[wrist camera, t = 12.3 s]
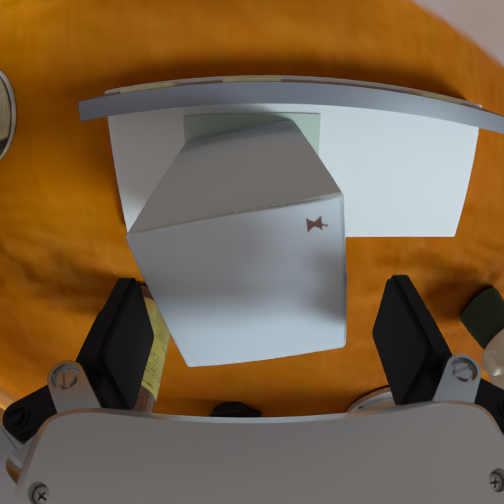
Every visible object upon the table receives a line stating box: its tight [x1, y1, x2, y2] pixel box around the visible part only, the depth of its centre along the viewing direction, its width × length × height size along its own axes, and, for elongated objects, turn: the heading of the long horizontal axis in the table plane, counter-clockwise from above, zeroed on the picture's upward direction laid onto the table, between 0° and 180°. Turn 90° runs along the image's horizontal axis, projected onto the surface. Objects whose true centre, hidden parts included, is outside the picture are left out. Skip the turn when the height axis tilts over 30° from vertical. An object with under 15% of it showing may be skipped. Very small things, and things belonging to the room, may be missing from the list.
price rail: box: [78, 77, 504, 134], centre depth 17 cm, size 1×28×4 cm, turn 91°
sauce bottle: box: [130, 285, 171, 413], centre depth 23 cm, size 6×6×20 cm
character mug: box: [461, 288, 504, 390], centre depth 27 cm, size 11×7×13 cm, turn 77°
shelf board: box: [105, 75, 482, 237], centre depth 22 cm, size 12×28×2 cm, turn 91°
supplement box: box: [126, 120, 347, 367], centre depth 17 cm, size 7×7×13 cm
